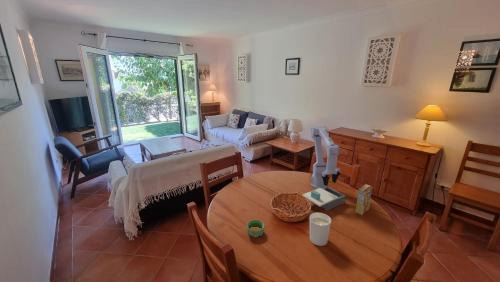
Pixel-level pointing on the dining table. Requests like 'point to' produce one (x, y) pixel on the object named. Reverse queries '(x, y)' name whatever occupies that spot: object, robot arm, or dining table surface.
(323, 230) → the candle holder
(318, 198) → the lid
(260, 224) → the green ring
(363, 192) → the candy box
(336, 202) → the grey open box
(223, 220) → the dining table surface
